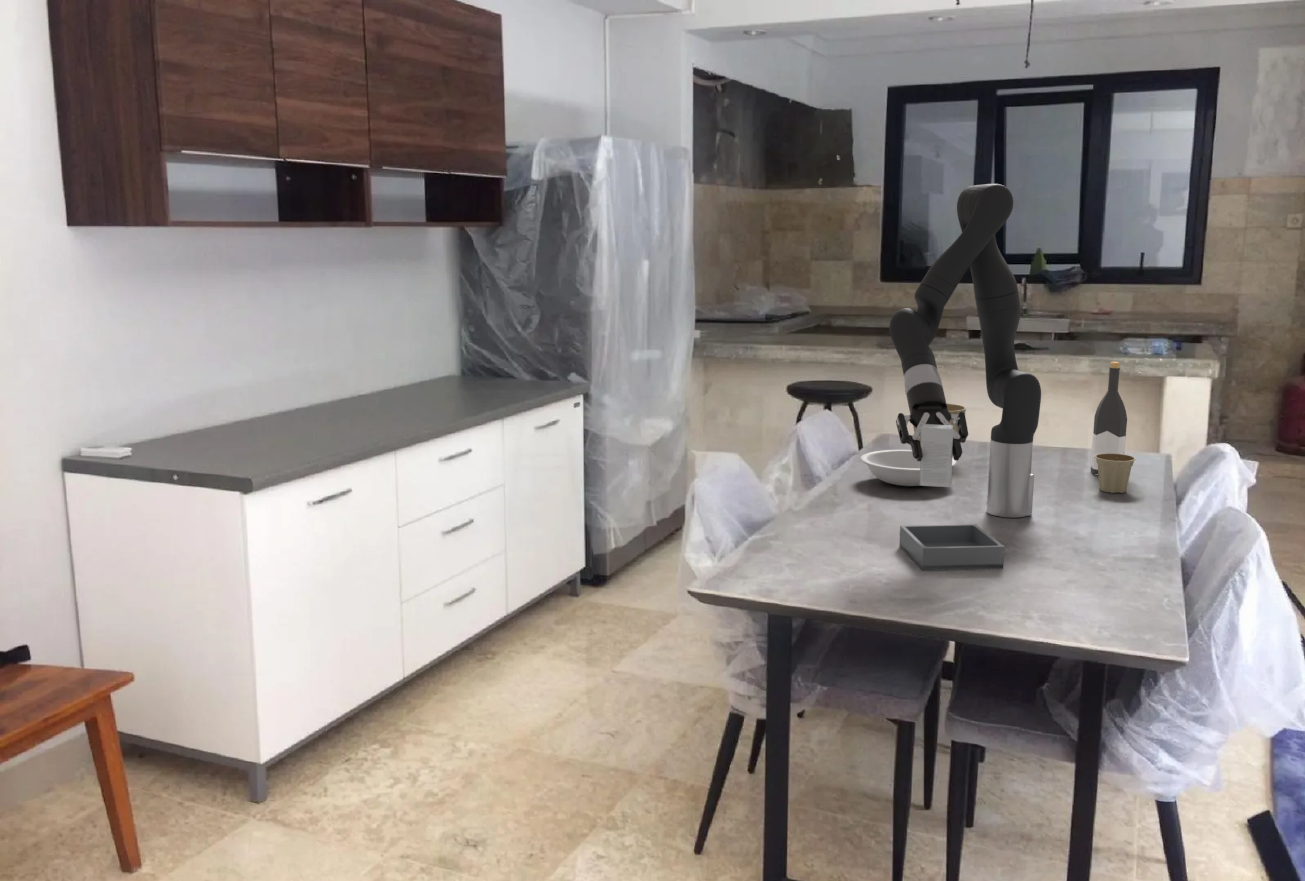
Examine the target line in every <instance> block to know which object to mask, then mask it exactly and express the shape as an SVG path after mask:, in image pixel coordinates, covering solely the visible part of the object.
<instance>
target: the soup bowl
mask: <svg viewBox="0 0 1305 881" xmlns="http://www.w3.org/2000/svg"><path fill="white" fill-rule="evenodd" d="M860 461H861V462H862V463H864V464H865V465H866V466H867V467H868V469H869V471H870V472H871V474H872V475H874V476H875V477H876V478H877V479H879V480H880V481H882V482H883V483H884V482H885V483H887V484H891V485H893V486H894V485H896V486H902V487H919V486H920V461H917V459H915V458H914V457H913V453H912V449H884V450H873V451H870V452H867V453H864V454H862V455H861V456H860ZM956 465H957V460H954V457H952V468H953V467H954V466H956ZM920 487H921V486H920Z"/></svg>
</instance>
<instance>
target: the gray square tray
mask: <svg viewBox="0 0 1305 881" xmlns="http://www.w3.org/2000/svg"><path fill="white" fill-rule="evenodd" d="M898 545H899V548H900V549H901V550H902V551H903V552H904V554H906V555H907V556H908V558H910V560H911V561H912V562H913V563H914V564H915V565H916V566H917V567H918V568H919V569H920V570H921V572H924V571H925V572H927V571H932V572H933V571H968V570H969V571H970V570H971V571H974V570H978V569H979V570H1004V565H1005V564H1004V563H1005V562H1004V560H1005V545H1003V544H1002V543H1001V542H999V541H998V540H997V539H995V538H994V537H993V536H992V535H990V534H989V533H988V532H987V531H986V530H984V529H983V528H981V527H980V526H979V525H978V524H976V523H970V524H969V523H966V524H963V523H962V524H961V523H959V524H921V525H920V524H917V525H916V524H915V525H912V524H911V525H910V524H909V525H900V526H899V543H898ZM979 570H978V571H979Z"/></svg>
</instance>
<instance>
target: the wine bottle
mask: <svg viewBox="0 0 1305 881" xmlns="http://www.w3.org/2000/svg"><path fill="white" fill-rule="evenodd" d="M1108 370H1109V372H1108V386H1107V391H1106V392H1105V395H1104V396H1103V397H1102V399H1101V400H1100V402H1099V404H1098V406H1097V408H1096V411H1095V414H1094V421H1093V432H1092V433H1093V434H1092V446H1091V447H1092V448H1091V459H1090V460H1091V461H1090V473H1091V472H1092V473H1093V474H1098V464H1097V462H1096V458H1095V455H1097V454H1103V453H1115V454H1124V455H1125V451H1126V439H1127V438H1126V437H1127V426H1128V415H1127V411H1126V407H1125V403H1124V401H1123V399H1122V398H1121V395H1120V393H1119V383H1120V382H1119V380H1120V371H1121V368H1120V362H1119V361H1110V366H1109V369H1108ZM1092 473H1091V474H1092ZM1093 474H1092V475H1093Z"/></svg>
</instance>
